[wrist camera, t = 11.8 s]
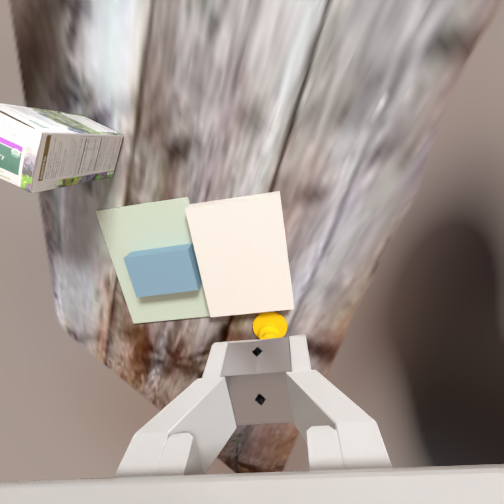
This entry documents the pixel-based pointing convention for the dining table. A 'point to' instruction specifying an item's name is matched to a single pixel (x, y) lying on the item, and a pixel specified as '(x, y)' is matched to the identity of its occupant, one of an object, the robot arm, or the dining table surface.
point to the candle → (269, 325)
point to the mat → (149, 237)
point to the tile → (163, 270)
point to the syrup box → (54, 148)
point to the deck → (242, 254)
